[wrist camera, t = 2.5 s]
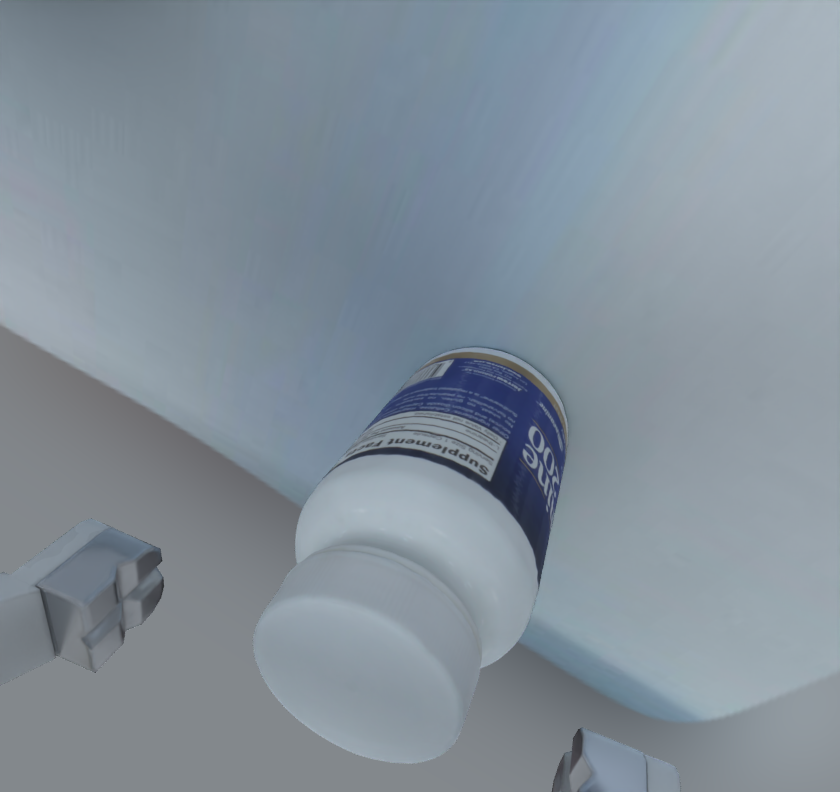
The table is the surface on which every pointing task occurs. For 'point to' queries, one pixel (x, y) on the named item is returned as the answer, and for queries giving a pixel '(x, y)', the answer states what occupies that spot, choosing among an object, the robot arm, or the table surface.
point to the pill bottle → (419, 558)
